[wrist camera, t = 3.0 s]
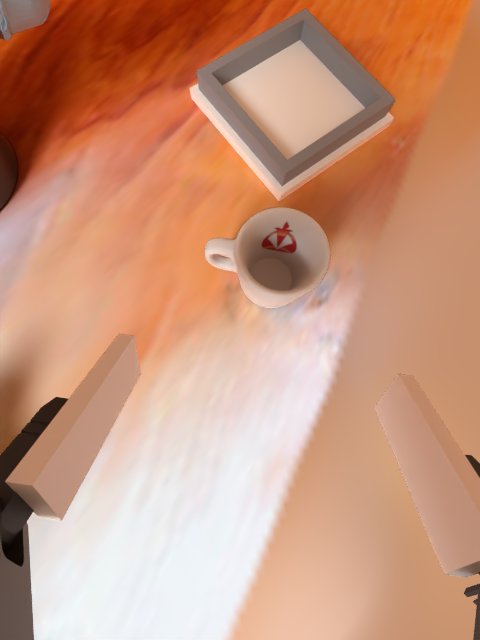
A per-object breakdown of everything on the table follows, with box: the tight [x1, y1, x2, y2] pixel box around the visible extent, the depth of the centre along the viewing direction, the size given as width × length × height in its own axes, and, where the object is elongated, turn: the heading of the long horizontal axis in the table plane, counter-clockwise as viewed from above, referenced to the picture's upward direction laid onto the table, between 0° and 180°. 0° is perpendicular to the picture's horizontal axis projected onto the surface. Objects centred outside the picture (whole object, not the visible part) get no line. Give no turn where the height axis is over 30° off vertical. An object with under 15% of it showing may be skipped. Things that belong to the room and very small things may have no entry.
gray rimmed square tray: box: [190, 8, 395, 202], centre depth 30 cm, size 18×18×3 cm
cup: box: [205, 207, 331, 308], centre depth 24 cm, size 11×8×8 cm
